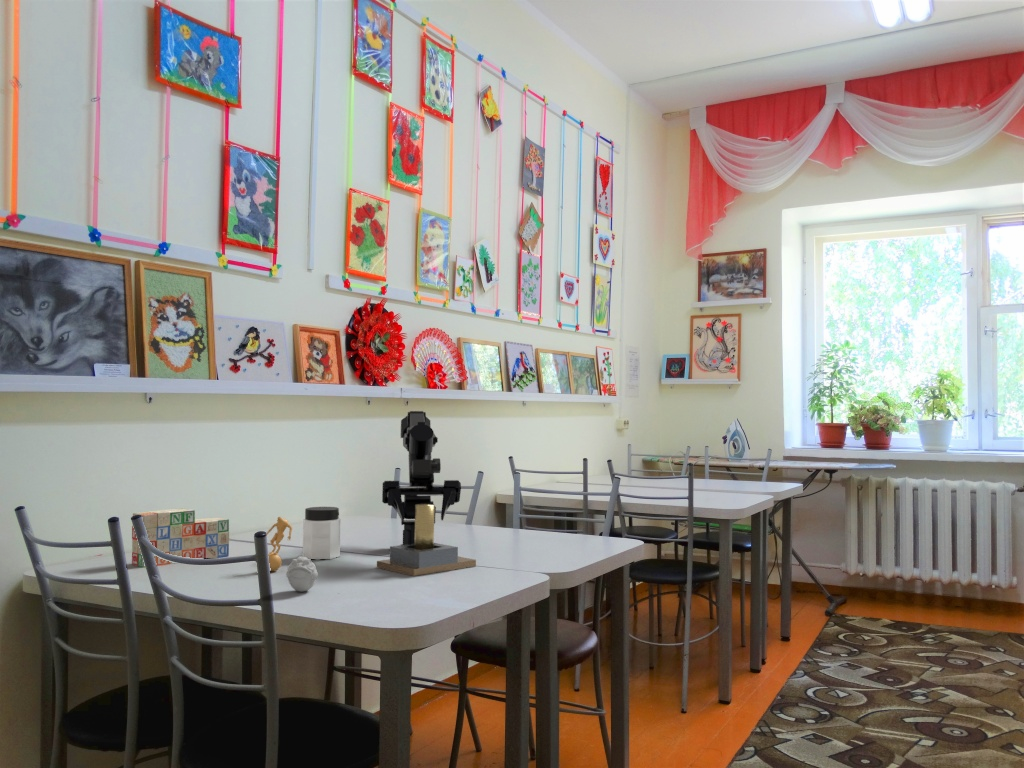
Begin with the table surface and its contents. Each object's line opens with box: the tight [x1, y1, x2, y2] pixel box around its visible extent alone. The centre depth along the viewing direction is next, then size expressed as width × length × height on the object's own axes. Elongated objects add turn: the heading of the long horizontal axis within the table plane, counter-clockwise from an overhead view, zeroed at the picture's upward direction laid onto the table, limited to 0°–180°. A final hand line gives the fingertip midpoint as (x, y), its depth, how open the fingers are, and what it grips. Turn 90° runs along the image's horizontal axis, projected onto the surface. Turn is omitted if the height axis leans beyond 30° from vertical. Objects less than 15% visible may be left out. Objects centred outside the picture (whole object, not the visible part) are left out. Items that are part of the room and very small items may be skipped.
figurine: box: [265, 516, 293, 572], centre depth 189 cm, size 8×6×12 cm
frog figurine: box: [285, 556, 319, 593], centre depth 166 cm, size 6×7×7 cm
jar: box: [302, 506, 341, 560], centre depth 207 cm, size 9×8×12 cm
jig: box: [376, 542, 477, 577], centre depth 194 cm, size 18×14×5 cm
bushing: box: [414, 503, 436, 550], centre depth 192 cm, size 4×4×13 cm
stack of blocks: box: [131, 508, 230, 569], centre depth 202 cm, size 21×6×12 cm, turn 138°
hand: (422, 519), depth 196 cm, fingers open, 9 cm apart
